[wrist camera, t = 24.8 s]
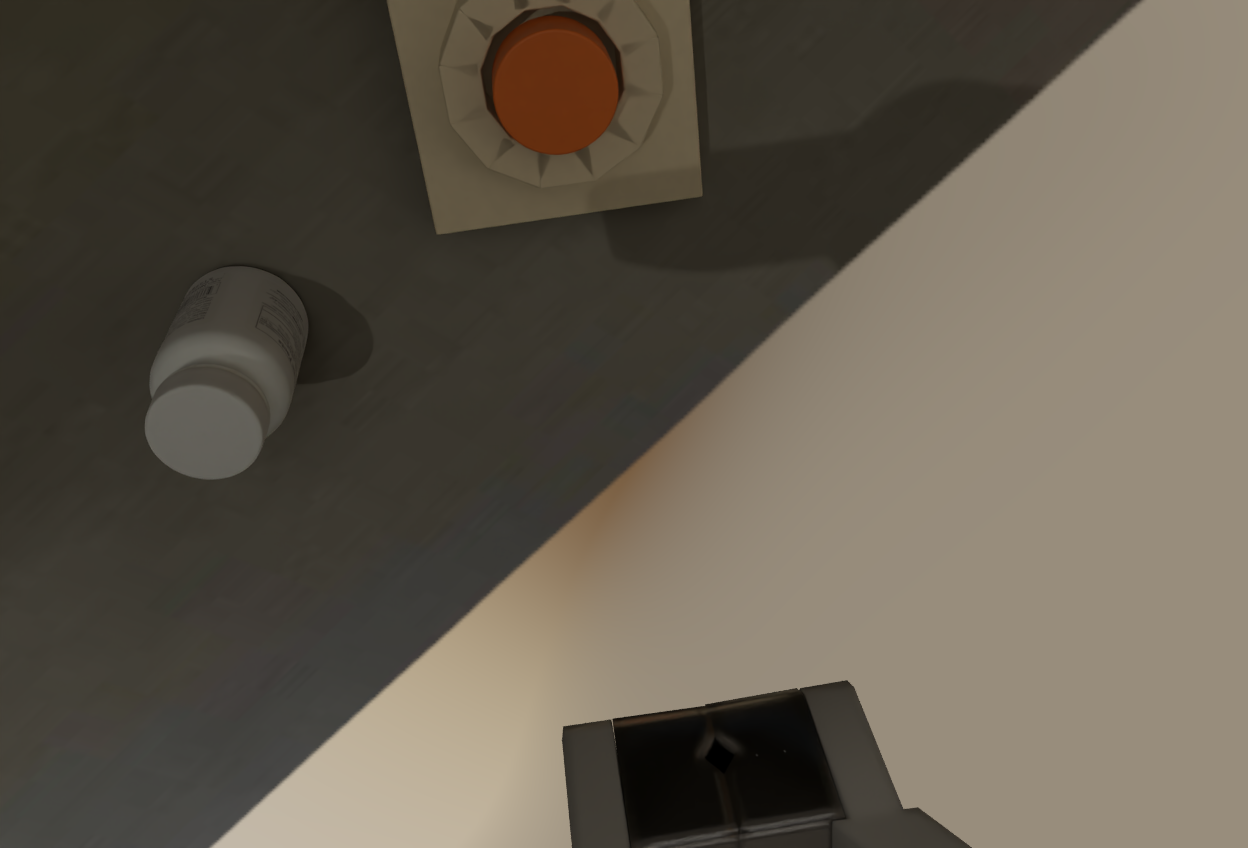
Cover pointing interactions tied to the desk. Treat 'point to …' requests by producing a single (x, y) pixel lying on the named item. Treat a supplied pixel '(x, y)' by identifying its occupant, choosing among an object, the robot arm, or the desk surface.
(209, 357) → the pill bottle
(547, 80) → the power button
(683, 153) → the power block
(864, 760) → the robot arm
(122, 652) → the desk surface
